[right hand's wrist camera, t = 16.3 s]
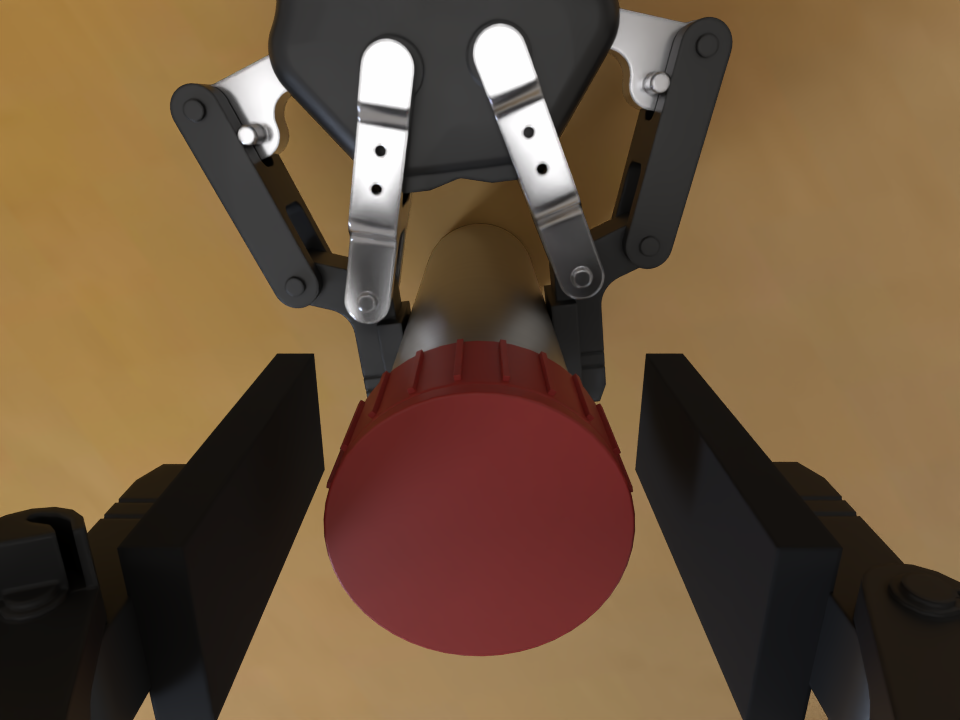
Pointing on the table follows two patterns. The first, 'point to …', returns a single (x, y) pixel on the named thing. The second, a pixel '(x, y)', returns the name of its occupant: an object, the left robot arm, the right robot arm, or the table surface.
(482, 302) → the bottle
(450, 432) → the lid
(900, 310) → the table surface
